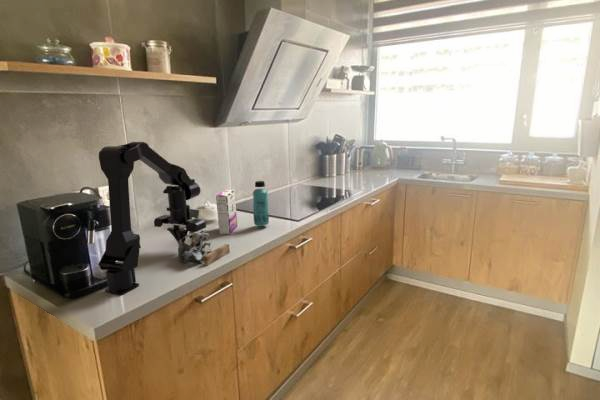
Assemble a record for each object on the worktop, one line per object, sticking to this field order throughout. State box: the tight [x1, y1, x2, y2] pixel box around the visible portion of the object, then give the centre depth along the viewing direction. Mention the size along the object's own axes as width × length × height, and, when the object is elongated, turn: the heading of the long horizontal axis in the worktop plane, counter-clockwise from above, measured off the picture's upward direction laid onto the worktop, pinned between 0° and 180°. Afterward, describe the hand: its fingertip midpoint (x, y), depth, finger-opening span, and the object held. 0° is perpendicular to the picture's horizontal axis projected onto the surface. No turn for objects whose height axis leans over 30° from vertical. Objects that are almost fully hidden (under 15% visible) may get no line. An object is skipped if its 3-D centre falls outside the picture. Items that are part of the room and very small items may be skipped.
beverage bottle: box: [252, 180, 270, 227], centre depth 153 cm, size 6×7×20 cm
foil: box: [177, 229, 213, 264], centre depth 123 cm, size 12×11×15 cm
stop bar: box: [203, 243, 230, 266], centre depth 121 cm, size 12×2×3 cm, turn 155°
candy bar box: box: [215, 189, 238, 235], centre depth 150 cm, size 11×5×16 cm, turn 174°
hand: (182, 246), depth 128 cm, fingers closed
